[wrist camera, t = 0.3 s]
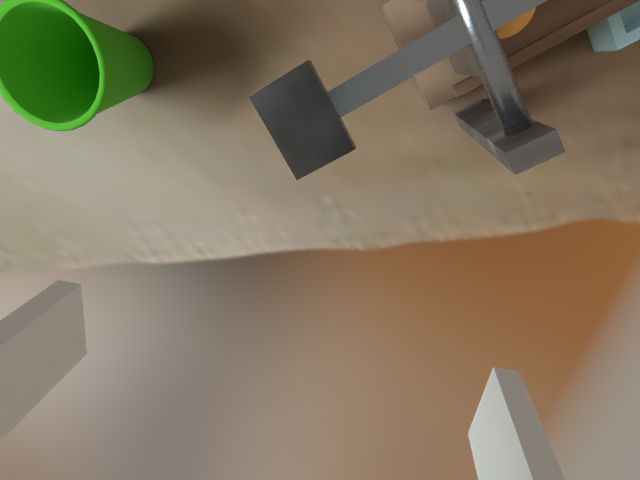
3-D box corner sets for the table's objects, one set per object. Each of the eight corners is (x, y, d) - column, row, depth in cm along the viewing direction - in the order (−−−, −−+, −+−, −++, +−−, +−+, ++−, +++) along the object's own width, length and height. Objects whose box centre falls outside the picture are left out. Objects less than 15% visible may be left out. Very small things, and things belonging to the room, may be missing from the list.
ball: (455, -4, 30) (464, -13, 27) (513, -39, 29) (531, -54, 25) (478, 51, 31) (490, 50, 28) (535, 20, 30) (556, 13, 26)
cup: (190, 43, 40) (122, 36, 29) (155, 133, 43) (84, 154, 33) (99, -11, 39) (-2, -37, 29) (71, 84, 43) (-28, 91, 32)
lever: (269, 47, 33) (210, 39, 22) (534, -126, 27) (636, -256, 16) (342, 180, 35) (322, 233, 24) (595, 50, 30) (717, 42, 19)
